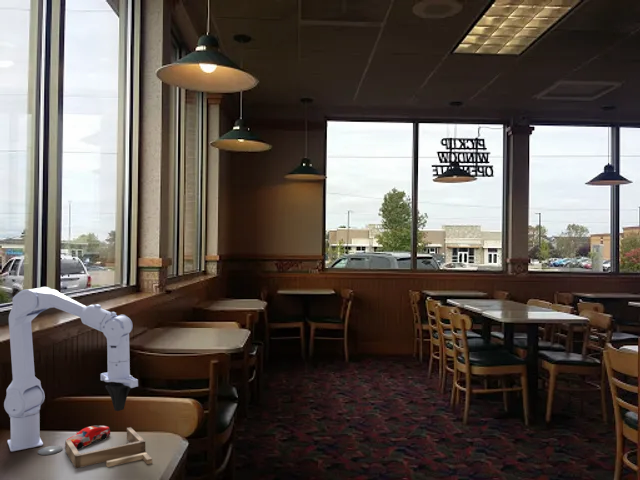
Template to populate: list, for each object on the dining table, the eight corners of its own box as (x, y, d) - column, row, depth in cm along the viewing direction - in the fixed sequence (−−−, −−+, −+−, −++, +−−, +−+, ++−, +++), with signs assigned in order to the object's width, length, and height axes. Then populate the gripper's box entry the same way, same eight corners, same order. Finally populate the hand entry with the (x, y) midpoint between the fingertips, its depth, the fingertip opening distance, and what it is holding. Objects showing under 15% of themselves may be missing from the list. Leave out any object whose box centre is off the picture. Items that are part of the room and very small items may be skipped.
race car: (72, 452, 151) (72, 438, 151) (60, 449, 154) (60, 434, 154) (113, 437, 162) (113, 423, 162) (101, 434, 165) (101, 420, 165)
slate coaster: (36, 449, 152) (36, 448, 152) (60, 445, 156) (60, 443, 156) (39, 456, 147) (39, 455, 147) (64, 451, 151) (64, 450, 151)
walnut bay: (65, 451, 151) (65, 440, 151) (131, 437, 161) (130, 427, 161) (75, 468, 139) (75, 456, 139) (145, 452, 149) (145, 441, 149)
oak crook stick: (111, 472, 137) (111, 468, 137) (106, 465, 141) (106, 461, 141) (152, 463, 142) (151, 458, 142) (146, 456, 147) (146, 452, 147)
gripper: (90, 359, 154) (90, 409, 154) (121, 366, 145) (122, 418, 145) (112, 355, 160) (113, 402, 160) (144, 361, 151) (145, 411, 151)
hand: (119, 409), depth 153 cm, fingers closed
